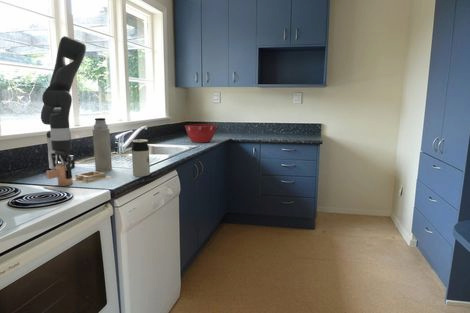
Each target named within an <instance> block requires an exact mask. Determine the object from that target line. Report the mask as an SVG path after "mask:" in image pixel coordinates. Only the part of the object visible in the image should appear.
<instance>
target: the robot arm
mask: <svg viewBox="0 0 470 313" xmlns="http://www.w3.org/2000/svg"><path fill="white" fill-rule="evenodd" d="M59 40H60V41H59V42H58V43H59V44H58V46H57V52H56V59H55V65H54V69H53V71H52V72H53V73H52V75H51V78H50V82H49V85H48V86H47V88H46V89H45V90H44V92H42V93H43V94H42V98H41V99H42V100H41V101H42V103H43V106H42V108H41V112H40V120H41V122H42V124H43V125H46V126H48V125H50V130H48V131H47V132H46V142H47V157H48V166H49V169H50V170H54V169H56V164H59V163H62V165H63V166H64V167H65V170H66V171H65V174H66V179H71V178H73V172H72V173H71V171H72V170H74V169H75V165H76V164H75V163H76V162H75V161H76V160H75V159H76V158H75V156H76V155H75V154H73V155H72V154H71V153H70V150H72V149H73V147H72V146H73V145H72V135H71V129H70V112H71V107H72V102H73V97H72V95H71V93H70V92H71V89H72V87H73V83H74V82H73V81H74V79H75V77H76V74H77V72H78V70H79V69H80V67H81V65H82V63H83V60H84V58H85V56H86V52H87V46H86V44H85V43H83V42H82V41H79V40H77V39H74V38H72V37H68V36H64V35H63V36H62V37H61V38H60V39H59ZM66 59H69V60H71V62H69V63H68V64H67V63H66ZM66 162H67V163H66Z"/></svg>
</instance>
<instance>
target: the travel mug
mask: <svg viewBox="0 0 470 313" xmlns="http://www.w3.org/2000/svg"><path fill="white" fill-rule="evenodd" d="M148 141H149V140H148V139H144V138H143V139H142V138H141V139H140V138H139V139H133V140H131V142H132V146H131V159H132V160H131V161H132V176H134V177H146V176H149V175H151V169H150V168H151V167H150V146H149V144H148Z"/></svg>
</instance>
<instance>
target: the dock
mask: <svg viewBox="0 0 470 313" xmlns="http://www.w3.org/2000/svg"><path fill="white" fill-rule="evenodd" d="M106 174H107V173H105V172H103V171H96V170H92V171H86V172H82V173H77V174H75V177H72V180H73V181H74V182H77V183H83V184H90V183H93V182H94V183H95V182H97V181H102V180H107V179H111V178H113V176H110V175H106Z"/></svg>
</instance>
